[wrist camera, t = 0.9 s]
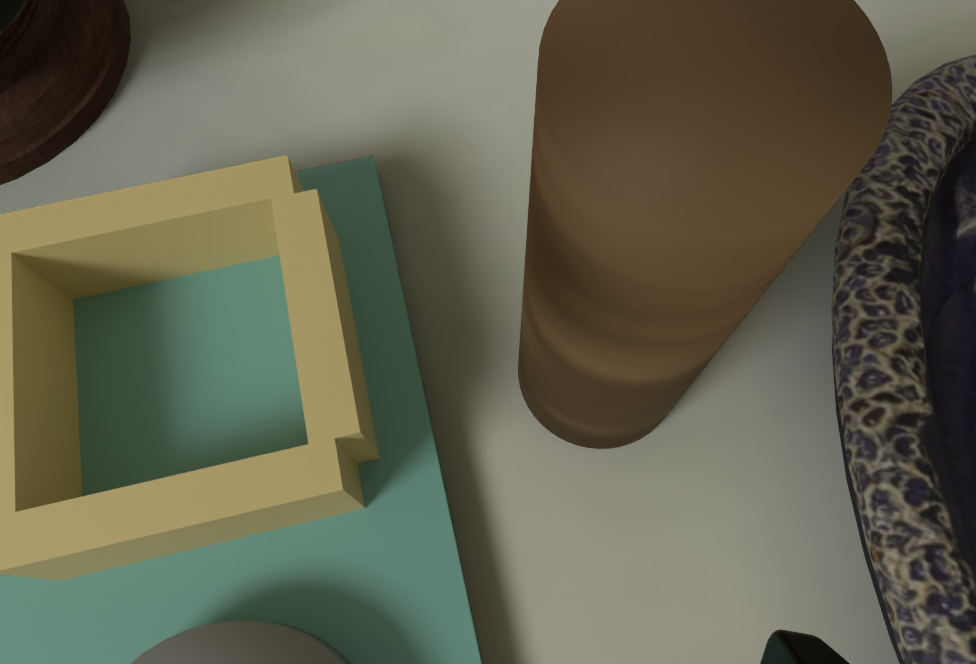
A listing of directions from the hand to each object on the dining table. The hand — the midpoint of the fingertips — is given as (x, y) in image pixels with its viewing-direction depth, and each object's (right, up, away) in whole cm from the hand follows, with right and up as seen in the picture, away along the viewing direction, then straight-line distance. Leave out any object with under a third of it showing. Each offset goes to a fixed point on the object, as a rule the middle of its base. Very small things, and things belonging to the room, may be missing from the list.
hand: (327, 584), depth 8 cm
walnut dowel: (+5, +2, +14) cm, 15 cm away
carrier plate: (-5, -3, +13) cm, 14 cm away
